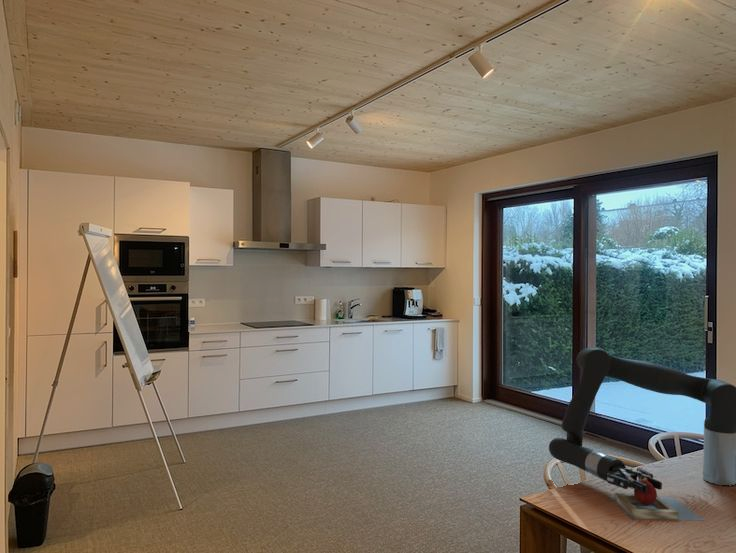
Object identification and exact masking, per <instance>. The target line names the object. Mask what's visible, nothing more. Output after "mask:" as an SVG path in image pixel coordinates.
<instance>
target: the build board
mask: <svg viewBox="0 0 736 553" xmlns="http://www.w3.org/2000/svg"><path fill="white" fill-rule="evenodd" d="M659 497H660V498H661V499H662V500H664V501H665V502H666V503H667V504H669V505H670V506H671V507H673V508H674V509H675V510H676V511H678V519H634V518H633V517H632V516H631V515H630V514H629V513H628V512H627V511H626V510H625V509H624V508H623V507H622V506H620V505H619V504H618V503H617V502H616V501H615V495H614V496H610V495H608V496H607V498H608V499H609V500H611V502H613V503H614V504H615V505H616V506H617V508H619V509H620V510H621V511H622V512H623V513H624V514H625V515H626V516H627V517H629V518H630V520H634V521H635V520H641V521H643V520H647V521H697V522H698V521H699V522H700V521H701V522H702V521H704V522H705V519H704V518H702V517H700V515H698V514H697V513H696V512H694V511H693V510H691V508H689V507H687V506H686V505H685V504H684V503H682V502H681V501H680V500H678V499H676V498H675V497H672V496H671V497H669V496H668V497H666V496H665V497H664V496H662V497H661V496H659ZM630 503H631V504H632V505H633V506H635V507H636V508H637V509H660V508H658V507H657V506H656V505H655V504H654V503H652V504H650V505H648V506H644V505H643V504H641V503H640V502H630Z"/></svg>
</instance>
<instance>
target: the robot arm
mask: <svg viewBox="0 0 736 553" xmlns="http://www.w3.org/2000/svg"><path fill="white" fill-rule="evenodd" d="M576 364H577V366H578V368H579V369H580V370H581V372H582V374H581V378H580V382H579V385H578V387H577V388H576V390H575V393H574V394H573V396H572V398H571V399H570V400H569V402H568V405H567V408H566V410H565V413H564V416H563V419H562V423H561V429H562V430H563V431H564V432H566V439H565V438H562V437H556V438H554V439H552V440H551V441H550V442H549V443H548V444H549V445H548V451H549V454H550V455H551V456H552V457H553V458H554V459H556V460H558V461H560V462H563V463H566V464H569V465H571V466H574V467H577V468H579V469H580V470H583V471H585V472H587V473H590V475H592V476H594V477H596V478H598V479H600V480H603V481H605V482H607V483H608V484H611V485H613V486H615V487H618V488H622V489H624V490H629V489H631V490H634V489H636V490H639V491H641V492H643V493H647V488H648V487H647V485H645V484H643V483H641V481H643V478H647V481H648V482H650V483H651V484H652V485H653V486H654V487H655V489H656V490H659V491H660V490H662V488H663V482H661V481H660V480H657V479H655V478H654V474H653V473H651V472H650V471H647V470H645V469H643V468H641V467H637V468H636V470H635V469H633V468H631V467H626V465H625V463H624V462H623V461H622V460H621V459H618V458H617V457H613V456H611V455H608V454H606V453H603V452H600V451H596V450H593V449H591V448H589V447H585V446H583V436H584V434H583V433H584V429H585V426H586V425H587V421H588V418H589V416H590V415H589V414H590V412H591V409H592V406H593V404H594V401H595V398H596V396H597V393H598V392H599V389H600V387H601V385H602V383H603V382H604V380H605V378H606V377H608V378H612V379H616V380H619V381H622V382H624V383H627V384H630V385H631V386H635V387H638V388H641V389H644V390H647V391H650V392H654V393H657V394H663V395H672V396H682V397H687V398H691V399H693V400H694V399H695V400H697V401H699V402H702V403H704V404H706V405H708V406H710V413H709V417H706V418H705V419H704V421H703V422H704V423H703V426H704V427H703V455H702V462H703V463H702V464H703V465H702V470H703V471H702V479H703V480H704V481H706V482H707V481H708V483H710V484H713V483H714V484H713V485H718V486H722V485H726V486H725V487H732V486H731V485H734V486H735V484H736V386H735V385H734V384H731V383H729V382H726V381H723V380H720V379H714V378H707V377H699V376H695V375H691V374H689V373H688V374H687V373H685V372H682V371H680V370H678V369H674V368H671V367H668V366H665V365H661V364H657V363H654V362H649V361H645V360H638V359H637V360H636V359H631V358H630V359H629V358H622V357H617V356H614V355H612V354H609V353H608V352H607V351H606V350H604V349H602V348H597V347H587V348H584V349H582V350H581V351H579V352H578V354H577V356H576ZM727 485H729V486H727Z"/></svg>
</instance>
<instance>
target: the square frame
mask: <svg viewBox="0 0 736 553" xmlns="http://www.w3.org/2000/svg"><path fill="white" fill-rule="evenodd" d="M614 497H615V501H616V502H617V503H618V504H619V505H620V506H622V507H623V508H624V509H625V510H626V511H627V512H628V513H629V514H630V515H631V516H632V517H633V518H634V519H678V511H676V510H675V509H674V508H673V507H671V506H670V505H669V504H667V503H666V502H665V501H664V500H662V499H661V498H660V497H661V496H658V495H657V497H656V500H655V501H654V502H653V503H654V504H655V505H656V506H657V507H658V508H660V509H637V508H636V507H635V506H633V505H632V504H631V503H630V502H639V501H638V500H637V499H636V497H635V495H634V493H625V492H623V493H621V492H620V493H618V492H616V493H615V492H614ZM634 519H633V520H634Z"/></svg>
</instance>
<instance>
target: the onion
mask: <svg viewBox="0 0 736 553" xmlns="http://www.w3.org/2000/svg"><path fill="white" fill-rule="evenodd" d="M642 480H643V481H641V483H643V484H645V485H647V487H648V488H647V493H643V492H641V491H639V490H636V489H633V494H634V495H635V497H636V499H637V500H638V501H639V502H640V503H641V504H643V505H644V506H648V505H650V504H652V503H653V502H654V501H655V500H656V497H657V496H658V493H657V489H656V488H655V487H654V486H653V485H652V484H651V483H650V482H648V481H647V478H643V479H642Z"/></svg>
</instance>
